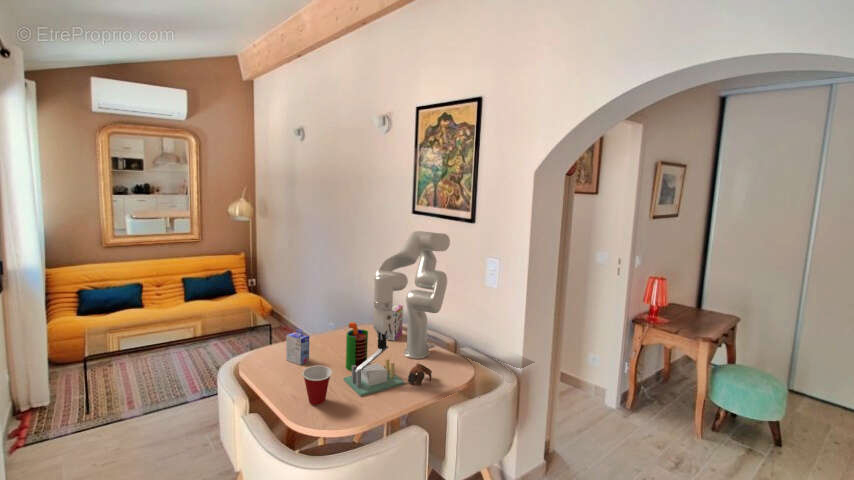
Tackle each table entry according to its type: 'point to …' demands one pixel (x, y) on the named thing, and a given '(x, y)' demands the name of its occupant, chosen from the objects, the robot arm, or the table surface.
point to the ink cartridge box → (297, 347)
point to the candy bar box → (397, 322)
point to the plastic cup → (317, 383)
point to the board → (373, 378)
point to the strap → (370, 359)
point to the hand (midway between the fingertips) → (381, 347)
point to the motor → (356, 346)
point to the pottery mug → (418, 374)
